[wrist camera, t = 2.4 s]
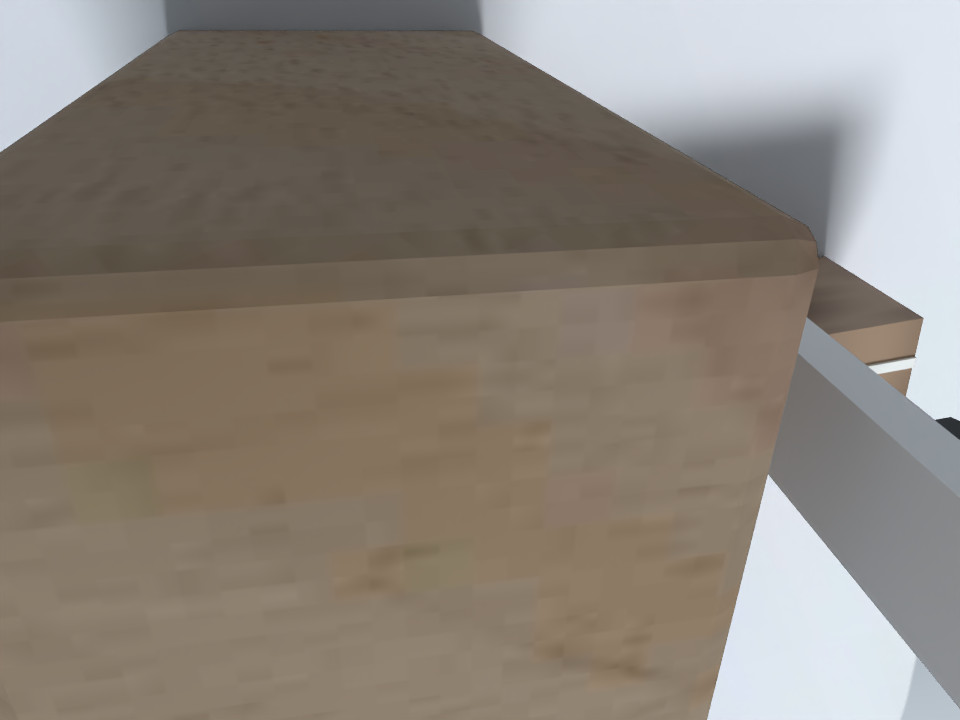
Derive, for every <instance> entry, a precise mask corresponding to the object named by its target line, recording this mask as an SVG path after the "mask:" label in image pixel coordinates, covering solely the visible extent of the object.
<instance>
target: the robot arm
mask: <svg viewBox="0 0 960 720" xmlns="http://www.w3.org/2000/svg"><path fill="white" fill-rule="evenodd" d="M768 474H769V476H770V477H771V478H772V479H773V481H774V482H775V483H776V484H777V485H778V487H779V488H780V489H781V490H782V492H783V493H784V494H785V495H786V496H787V498H788V499H789V500H790V501H791V503H792V504H793V505H794V506H795V507H796V509H797V510H798V511H799V512H800V514H801V515H802V516H803V517H804V519H805V520H806V521H807V522H808V523H809V525H810V526H811V527H812V528H813V530H814V531H815V532H816V533H817V534H818V536H819V537H820V538H821V539H822V541H823V542H824V543H825V544H826V545H827V547H828V548H829V549H830V550H831V552H832V553H833V554H834V555H835V556H836V558H837V559H838V560H839V561H840V563H841V564H842V565H843V566H844V568H845V569H846V570H847V571H848V572H849V574H850V575H851V576H852V577H853V579H854V580H855V581H856V582H857V583H858V585H859V586H860V587H861V588H862V590H863V591H864V592H865V593H866V594H867V596H868V597H869V598H870V599H871V601H872V602H873V603H874V604H875V605H876V607H877V608H878V609H879V610H880V612H881V613H882V614H883V615H884V617H885V618H886V619H887V620H888V621H889V623H890V624H891V625H892V626H893V628H894V629H895V630H896V631H897V632H898V634H899V635H900V636H901V637H902V639H903V640H904V641H905V642H906V643H907V645H908V646H909V647H910V648H911V650H912V651H913V652H914V653H915V654H916V656H917V657H918V658H919V659H920V661H922V663H923V664H924V665H925V667H926V668H927V669H928V670H929V672H930V673H931V674H932V675H933V676H934V678H935V679H936V680H937V681H938V683H939V684H940V685H941V686H942V688H943V689H944V690H945V691H946V692H947V694H948V695H949V696H950V697H951V698H952V700H953V701H954V702H955V703H956V705H957V706H958V707H959V708H960V421H958V420H956V419H954V418H952V417H949V418H943V419H938V420H934V419H933V418H931V417H930V416H929V415H928V414H926V413H925V412H924V411H923V410H922V409H920V408H919V407H918V406H917V405H915V404H914V403H913V402H912V401H910V400H909V399H908V398H907V397H905V396H904V395H903V394H902V393H900V392H899V391H898V390H897V389H895V388H894V387H893V386H892V385H890V384H889V383H888V382H887V381H885V380H884V379H883V378H882V377H880V376H879V375H878V374H877V373H875V372H874V371H873V370H872V369H871V368H869V367H868V366H867V365H866V364H864V363H863V362H862V361H861V360H859V359H858V358H857V357H856V356H854V355H853V354H852V353H851V352H849V351H848V350H847V349H846V348H844V347H843V346H842V345H841V344H839V343H838V342H837V341H836V340H834V339H833V338H832V337H831V336H829V335H828V334H827V333H826V332H824V331H823V330H822V329H821V328H820V327H818V326H817V325H816V324H815V323H813V322H812V321H811V320H810V319H808V318H806V322H805V326H804V330H803V334H802V338H801V342H800V346H799V350H798V354H797V358H796V362H795V366H794V370H793V374H792V379H791V383H790V387H789V391H788V395H787V399H786V403H785V407H784V411H783V415H782V419H781V423H780V427H779V431H778V435H777V439H776V443H775V447H774V451H773V455H772V459H771V463H770V467H769V471H768Z"/></svg>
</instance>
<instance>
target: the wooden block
mask: <svg viewBox="0 0 960 720" xmlns="http://www.w3.org/2000/svg"><path fill="white" fill-rule="evenodd" d="M818 270H819V265H818V255H817V245H816V240H815V239H814V237H813V235H812V233H811V231H810V229H809V227H807V226H806V225H804V224H802V223H801V222H799V221H797V220H795V219H794V218H792V217H790V216H789V215H787V214H785V213H784V212H782V211H780V210H778V209H777V208H775V207H773V206H772V205H770V204H768V203H767V202H765V201H763V200H761V199H760V198H758V197H756V196H755V195H753V194H751V193H750V192H748V191H746V190H744V189H743V188H741V187H739V186H738V185H736V184H734V183H733V182H731V181H729V180H727V179H726V178H724V177H722V176H721V175H719V174H717V173H716V172H714V171H712V170H710V169H709V168H707V167H705V166H704V165H702V164H700V163H699V162H697V161H695V160H693V159H692V158H690V157H688V156H687V155H685V154H683V153H682V152H680V151H678V150H676V149H675V148H673V147H671V146H670V145H668V144H666V143H665V142H663V141H661V140H659V139H658V138H656V137H654V136H653V135H651V134H649V133H647V132H646V131H644V130H642V129H641V128H639V127H637V126H636V125H634V124H632V123H630V122H629V121H627V120H625V119H624V118H622V117H620V116H619V115H617V114H615V113H613V112H612V111H610V110H608V109H607V108H605V107H603V106H602V105H600V104H598V103H596V102H595V101H593V100H591V99H590V98H588V97H586V96H585V95H583V94H581V93H579V92H578V91H576V90H574V89H573V88H571V87H569V86H568V85H566V84H564V83H562V82H561V81H559V80H557V79H556V78H554V77H552V76H551V75H549V74H547V73H545V72H544V71H542V70H540V69H539V68H537V67H535V66H534V65H532V64H530V63H528V62H527V61H525V60H523V59H522V58H520V57H518V56H516V55H515V54H513V53H511V52H510V51H508V50H506V49H505V48H503V47H501V46H499V45H498V44H496V43H494V42H493V41H491V40H489V39H488V38H486V37H484V36H482V35H480V34H478V33H476V32H474V31H198V30H179V31H177V32H175V33H173V34H171V35H168V36H167V37H165V38H164V39H163V40H161V41H160V42H158V43H157V44H155V45H154V46H153V47H151V48H150V49H148V50H147V51H145V52H144V53H142V54H141V55H140V56H138V57H137V58H135V59H134V60H132V61H131V62H130V63H128V64H127V65H125V66H124V67H122V68H121V69H119V70H118V71H117V72H115V73H114V74H112V75H111V76H109V77H108V78H107V79H105V80H104V81H102V82H101V83H99V84H98V85H97V86H95V87H94V88H92V89H91V90H89V91H88V92H86V93H85V94H84V95H82V96H81V97H79V98H78V99H76V100H75V101H74V102H72V103H71V104H69V105H68V106H66V107H65V108H63V109H62V110H61V111H59V112H58V113H56V114H55V115H53V116H52V117H51V118H49V119H48V120H46V121H45V122H43V123H42V124H41V125H39V126H38V127H36V128H35V129H33V130H32V131H30V132H29V133H28V134H26V135H25V136H23V137H22V138H20V139H19V140H18V141H16V142H15V143H13V144H12V145H10V146H9V147H7V148H6V149H5V150H3V151H2V152H0V720H707V717H708V713H709V709H710V705H711V701H712V697H713V693H714V689H715V685H716V681H717V677H718V673H719V669H720V665H721V661H722V657H723V653H724V649H725V645H726V641H727V636H728V632H729V628H730V624H731V620H732V616H733V612H734V608H735V604H736V600H737V596H738V592H739V588H740V584H741V580H742V576H743V572H744V568H745V564H746V560H747V556H748V552H749V548H750V544H751V540H752V536H753V532H754V528H755V524H756V520H757V516H758V512H759V507H760V503H761V499H762V495H763V491H764V487H765V483H766V479H767V475H768V471H769V467H770V463H771V459H772V455H773V451H774V447H775V443H776V439H777V435H778V431H779V427H780V423H781V419H782V415H783V411H784V407H785V403H786V399H787V395H788V391H789V387H790V383H791V379H792V374H793V370H794V366H795V362H796V358H797V354H798V350H799V346H800V342H801V338H802V334H803V330H804V326H805V322H806V318H807V314H808V310H809V306H810V302H811V298H812V294H813V290H814V286H815V282H816V278H817V274H818Z"/></svg>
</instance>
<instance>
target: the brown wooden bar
mask: <svg viewBox="0 0 960 720" xmlns="http://www.w3.org/2000/svg"><path fill="white" fill-rule="evenodd" d="M818 265H819V270H818V274H817V278H816V282H815V286H814V290H813V294H812V298H811V302H810V306H809V310H808V314H807V318H808V319H810V320H811V321H812V322H813V323H815V324H816V325H817V326H818V327H820V328H821V329H822V330H823V331H824V332H826V333H827V334H828V335H829V336H831V337H832V338H833V339H834V340H836V341H837V342H838V343H839V344H841V345H842V346H843V347H844V348H846V349H847V350H848V351H849V352H851V353H852V354H853V355H854V356H856V357H857V358H858V359H859V360H861V361H862V362H863V363H864V364H866V365H867V366H868V367H869V368H871V369H872V370H873V371H874V372H875V373H877V374H878V375H879V376H880V377H882V378H883V379H884V380H885V381H887V382H888V383H889V384H890V385H892V386H893V387H894V388H895V389H897V390H898V391H899V392H900V393H902V394H903V395H904V396H905V397H906V392H907V388H908V384H909V379H910V375H911V370H912V368H914V367H915V362H916V357H915V353H916V349H917V344H918V340H919V335H920V331H921V327H922V322H923V318H922V317H921V316H919V315H918V314H916V313H914V312H913V311H911V310H910V309H908V308H906V307H905V306H903V305H902V304H900V303H899V302H897V301H895V300H894V299H892V298H891V297H889V296H887V295H886V294H884V293H883V292H881V291H879V290H878V289H876V288H875V287H873V286H871V285H870V284H868V283H867V282H865V281H863V280H862V279H860V278H859V277H857V276H855V275H854V274H852V273H851V272H849V271H847V270H846V269H844V268H843V267H841V266H839V265H838V264H836V263H835V262H833V261H831V260H830V259H828V258H827V257H825V256H824V257H818Z"/></svg>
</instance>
